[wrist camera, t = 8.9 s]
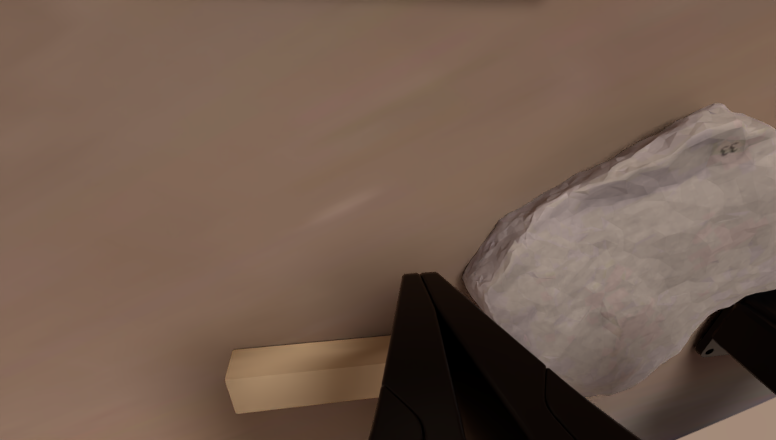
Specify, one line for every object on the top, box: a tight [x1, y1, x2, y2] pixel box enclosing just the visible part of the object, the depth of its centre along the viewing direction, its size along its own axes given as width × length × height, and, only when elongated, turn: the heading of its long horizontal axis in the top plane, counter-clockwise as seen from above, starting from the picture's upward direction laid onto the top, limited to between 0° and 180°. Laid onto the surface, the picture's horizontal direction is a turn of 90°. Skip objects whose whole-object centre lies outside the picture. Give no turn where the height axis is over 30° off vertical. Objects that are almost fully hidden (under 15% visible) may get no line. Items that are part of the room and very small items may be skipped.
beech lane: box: [225, 335, 391, 414], centre depth 12 cm, size 11×20×2 cm, turn 178°
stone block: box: [462, 103, 776, 397], centre depth 15 cm, size 12×5×10 cm
